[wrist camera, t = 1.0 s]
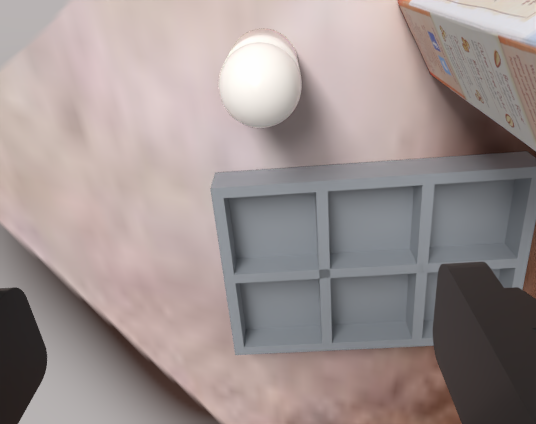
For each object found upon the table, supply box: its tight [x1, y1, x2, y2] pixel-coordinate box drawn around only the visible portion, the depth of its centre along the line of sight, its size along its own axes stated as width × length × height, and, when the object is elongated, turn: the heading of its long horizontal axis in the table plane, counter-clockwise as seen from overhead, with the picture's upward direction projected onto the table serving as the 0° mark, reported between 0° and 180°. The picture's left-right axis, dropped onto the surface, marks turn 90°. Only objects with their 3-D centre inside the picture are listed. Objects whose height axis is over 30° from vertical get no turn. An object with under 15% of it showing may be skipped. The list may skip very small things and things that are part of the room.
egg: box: [218, 28, 302, 128], centre depth 28 cm, size 5×5×8 cm
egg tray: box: [210, 151, 536, 355], centre depth 37 cm, size 22×15×3 cm
